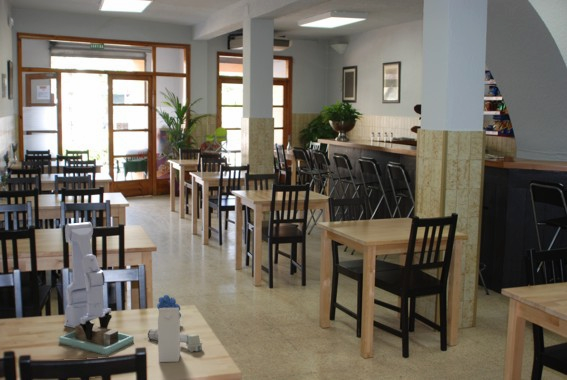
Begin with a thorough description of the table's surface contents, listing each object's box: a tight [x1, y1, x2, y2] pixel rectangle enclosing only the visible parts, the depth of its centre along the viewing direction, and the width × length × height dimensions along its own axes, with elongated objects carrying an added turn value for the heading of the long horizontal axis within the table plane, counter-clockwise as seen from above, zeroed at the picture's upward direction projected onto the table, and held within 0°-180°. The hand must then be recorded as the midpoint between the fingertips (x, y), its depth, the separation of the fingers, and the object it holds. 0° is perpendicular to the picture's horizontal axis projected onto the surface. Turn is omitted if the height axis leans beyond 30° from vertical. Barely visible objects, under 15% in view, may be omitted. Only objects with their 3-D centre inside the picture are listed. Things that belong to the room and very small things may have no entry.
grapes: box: [156, 294, 182, 318], centre depth 267 cm, size 12×7×12 cm, turn 66°
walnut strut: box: [74, 324, 119, 347], centre depth 245 cm, size 18×5×5 cm, turn 62°
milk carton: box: [157, 308, 181, 363], centre depth 230 cm, size 7×7×19 cm
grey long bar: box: [147, 328, 203, 352], centre depth 244 cm, size 5×7×25 cm
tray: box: [58, 330, 135, 356], centre depth 246 cm, size 24×15×2 cm, turn 62°
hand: (96, 336), depth 245 cm, fingers open, 7 cm apart
